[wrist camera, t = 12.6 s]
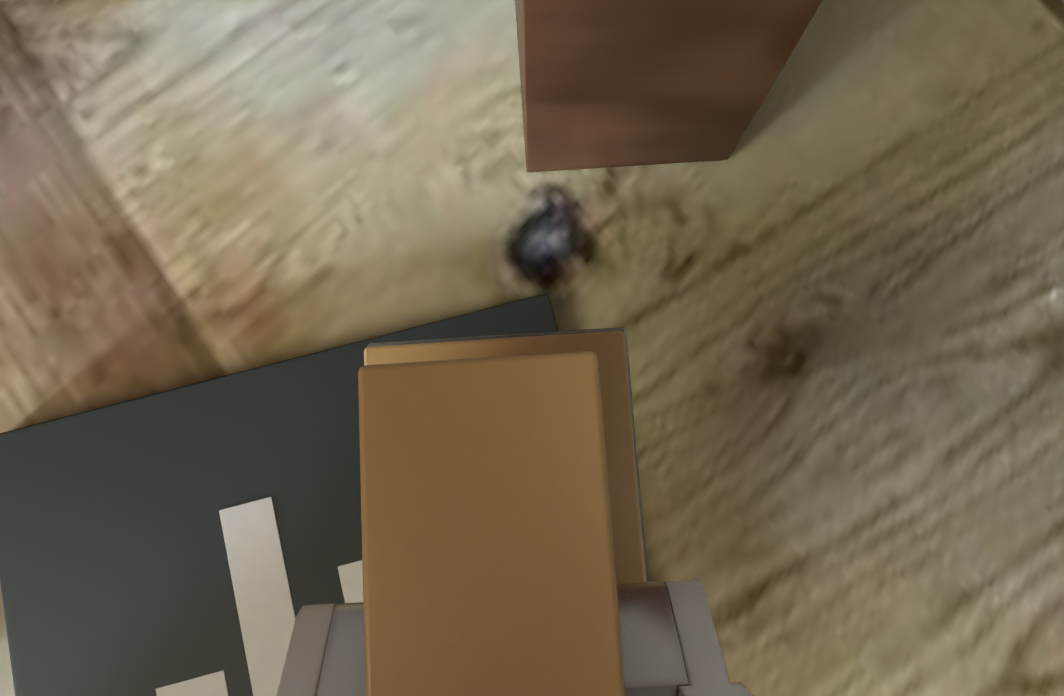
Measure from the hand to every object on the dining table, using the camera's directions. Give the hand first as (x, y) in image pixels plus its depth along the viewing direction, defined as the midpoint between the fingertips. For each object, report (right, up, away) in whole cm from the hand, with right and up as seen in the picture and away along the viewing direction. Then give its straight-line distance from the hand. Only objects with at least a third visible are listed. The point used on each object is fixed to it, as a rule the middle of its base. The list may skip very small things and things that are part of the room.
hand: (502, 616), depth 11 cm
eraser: (0, -2, +5) cm, 5 cm away
